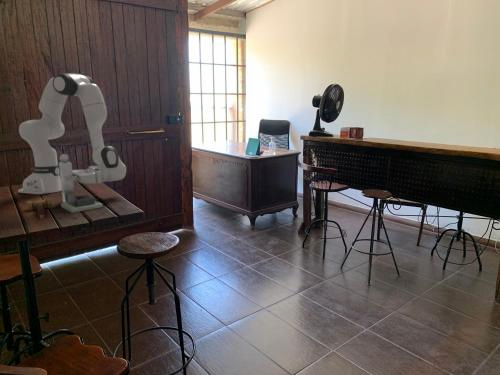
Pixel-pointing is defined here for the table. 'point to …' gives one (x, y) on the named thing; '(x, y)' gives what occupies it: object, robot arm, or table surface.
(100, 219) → the table surface
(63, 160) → the steel link
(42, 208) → the gavel
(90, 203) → the keeper bracket
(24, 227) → the table surface
